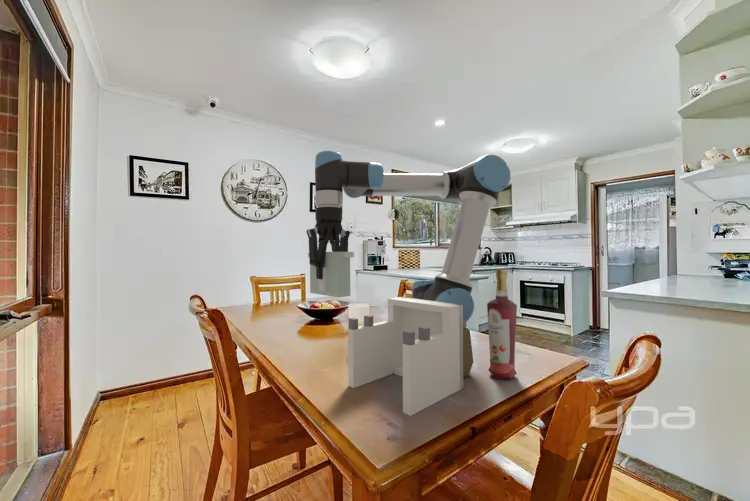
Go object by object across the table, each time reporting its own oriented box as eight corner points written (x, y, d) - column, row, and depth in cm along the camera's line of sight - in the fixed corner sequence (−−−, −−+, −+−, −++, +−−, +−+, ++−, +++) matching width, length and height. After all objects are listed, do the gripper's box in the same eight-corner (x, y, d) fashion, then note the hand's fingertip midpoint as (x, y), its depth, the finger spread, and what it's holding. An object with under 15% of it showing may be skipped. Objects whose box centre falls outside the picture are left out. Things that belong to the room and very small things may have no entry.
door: (316, 290, 99) (315, 252, 99) (357, 297, 84) (357, 251, 84) (304, 291, 96) (304, 252, 96) (345, 298, 81) (345, 251, 81)
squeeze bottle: (436, 370, 88) (436, 305, 88) (460, 366, 91) (459, 303, 91) (454, 381, 80) (454, 310, 81) (480, 376, 84) (479, 308, 84)
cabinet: (401, 366, 91) (401, 296, 91) (463, 388, 77) (462, 304, 77) (348, 385, 78) (348, 304, 78) (410, 416, 63) (409, 315, 64)
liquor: (523, 377, 83) (522, 270, 83) (506, 384, 79) (505, 270, 79) (498, 369, 89) (498, 268, 89) (481, 374, 85) (480, 269, 85)
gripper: (344, 211, 99) (345, 286, 99) (295, 206, 87) (295, 291, 87) (360, 208, 93) (361, 288, 93) (309, 203, 82) (310, 294, 82)
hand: (329, 289), depth 90 cm, fingers closed on door, 4 cm apart
